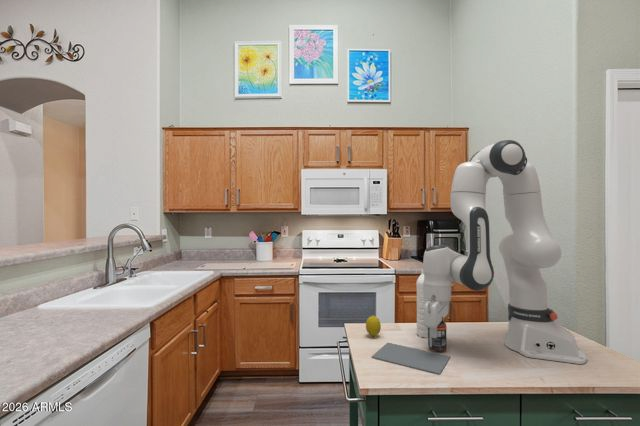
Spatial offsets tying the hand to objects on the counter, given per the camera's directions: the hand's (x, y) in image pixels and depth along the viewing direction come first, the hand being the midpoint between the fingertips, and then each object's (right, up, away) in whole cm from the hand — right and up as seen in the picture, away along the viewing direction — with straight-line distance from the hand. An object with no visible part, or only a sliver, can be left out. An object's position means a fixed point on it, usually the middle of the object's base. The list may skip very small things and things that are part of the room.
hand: (437, 333), depth 110 cm
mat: (-11, -5, -7) cm, 14 cm away
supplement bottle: (0, -5, 0) cm, 5 cm away
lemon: (-20, -6, +12) cm, 24 cm away
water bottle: (+1, -6, +13) cm, 14 cm away
